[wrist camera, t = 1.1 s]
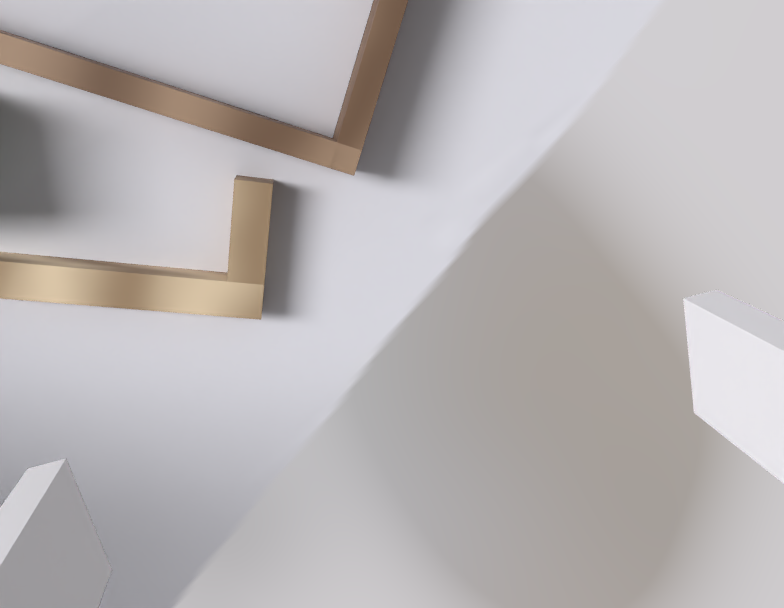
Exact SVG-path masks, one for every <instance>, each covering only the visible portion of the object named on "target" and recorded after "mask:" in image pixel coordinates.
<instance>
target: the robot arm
mask: <svg viewBox="0 0 784 608" xmlns="http://www.w3.org/2000/svg"><path fill="white" fill-rule="evenodd" d="M683 299H684V310H685V320H686V332H687V343H688V353H689V364H690V375H691V386H692V396H693V407H694V413H695V414H696V415H698V416H699V417H700V418H701V419H703V420H704V421H705V422H706V423H708V424H709V425H710V426H712V427H713V428H714V429H715V430H716V431H718V432H719V433H720V434H722V435H723V436H724V437H725V438H727V439H728V440H729V441H730V442H732V443H733V444H734V445H736V446H737V447H738V448H739V449H740V450H742V451H743V452H744V453H746V454H747V455H748V456H749V457H751V458H752V459H753V460H754V461H755V462H757V463H758V464H759V465H761V466H762V467H763V468H764V469H766V470H767V471H768V472H769V473H771V474H772V475H773V476H775V477H776V478H777V479H778V480H779V481H781V482H782V483H783V484H784V320H782V319H780V318H777V317H775V316H773V315H771V314H769V313H767V312H765V311H763V310H760V309H758V308H756V307H754V306H752V305H750V304H747V303H745V302H743V301H741V300H739V299H737V298H734V297H732V296H730V295H728V294H725V293H723V292H721V291H719V290H714V291H710V292H706V293H702V294H698V295H694V296H690V297H687V298H683ZM111 572H112V568H111V566H110V563H109V561H108V559H107V556H106V554H105V551H104V549H103V546H102V544H101V542H100V539H99V537H98V534H97V532H96V530H95V527H94V525H93V522H92V520H91V517H90V515H89V513H88V510H87V508H86V505H85V503H84V500H83V498H82V496H81V493H80V491H79V488H78V486H77V483H76V481H75V479H74V476H73V474H72V471H71V469H70V467H69V464H68V462H67V459H62V460H58V461H54V462H50V463H46V464H42V465H39V466H35V467H31V468H28V469H27V470H26V472H25V473H24V474H23V476H22V477H21V479H20V480H19V482H18V483H17V484H16V486H15V487H14V489H13V490H12V492H11V493H10V494H9V496H8V497H7V499H6V500H5V502H4V503H3V504H2V506H1V507H0V608H98V607H99V605H100V602H101V599H102V596H103V594H104V591H105V588H106V586H107V583H108V580H109V578H110V575H111Z"/></svg>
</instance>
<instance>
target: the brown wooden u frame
mask: <svg viewBox="0 0 784 608" xmlns="http://www.w3.org/2000/svg"><path fill="white" fill-rule="evenodd" d="M407 3H408V0H374V1H373V4H372V8H371V11H370V14H369V18H368V21H367V24H366V28H365V31H364V34H363V38H362V41H361V44H360V48H359V51H358V55H357V58H356V61H355V65H354V68H353V71H352V75H351V78H350V81H349V85H348V88H347V91H346V95H345V98H344V102H343V105H342V108H341V112H340V115H339V118H338V122H337V125H336V128H335V132H334V135H333V138H330V137H327V136H324V135H321V134H318V133H314V132H311V131H308V130H305V129H302V128H299V127H296V126H293V125H290V124H287V123H284V122H281V121H278V120H275V119H272V118H268V117H265V116H262V115H259V114H256V113H253V112H250V111H247V110H244V109H241V108H238V107H235V106H232V105H229V104H226V103H223V102H219V101H216V100H213V99H210V98H207V97H204V96H201V95H198V94H195V93H192V92H189V91H186V90H183V89H180V88H177V87H173V86H170V85H167V84H164V83H161V82H158V81H155V80H152V79H149V78H146V77H143V76H140V75H137V74H134V73H131V72H128V71H124V70H121V69H118V68H115V67H112V66H109V65H106V64H103V63H100V62H97V61H94V60H91V59H88V58H85V57H82V56H78V55H75V54H72V53H69V52H66V51H63V50H60V49H57V48H54V47H51V46H48V45H45V44H42V43H39V42H36V41H33V40H29V39H26V38H23V37H20V36H17V35H14V34H11V33H8V32H5V31H2V30H0V64H3V65H6V66H9V67H12V68H15V69H18V70H22V71H25V72H28V73H31V74H34V75H37V76H41V77H44V78H47V79H50V80H53V81H56V82H60V83H63V84H66V85H69V86H72V87H75V88H79V89H82V90H85V91H88V92H91V93H94V94H98V95H101V96H104V97H107V98H110V99H113V100H116V101H120V102H123V103H126V104H129V105H132V106H135V107H139V108H142V109H145V110H148V111H151V112H154V113H158V114H161V115H164V116H167V117H170V118H173V119H177V120H180V121H183V122H186V123H189V124H192V125H196V126H199V127H202V128H205V129H208V130H211V131H214V132H218V133H221V134H224V135H227V136H230V137H233V138H237V139H240V140H243V141H246V142H249V143H252V144H256V145H259V146H262V147H265V148H268V149H271V150H275V151H278V152H281V153H284V154H287V155H290V156H294V157H297V158H300V159H303V160H306V161H309V162H312V163H316V164H319V165H322V166H325V167H328V168H331V169H335V170H338V171H341V172H344V173H347V174H350V175H354V174H355V171H356V168H357V164H358V161H359V158H360V155H361V152H362V148H363V145H364V142H365V139H366V135H367V132H368V129H369V126H370V122H371V119H372V116H373V113H374V109H375V106H376V103H377V100H378V96H379V93H380V90H381V87H382V83H383V80H384V77H385V74H386V71H387V67H388V64H389V61H390V58H391V54H392V51H393V48H394V45H395V41H396V38H397V35H398V32H399V28H400V25H401V22H402V19H403V15H404V12H405V9H406V6H407Z"/></svg>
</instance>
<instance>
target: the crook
mask: <svg viewBox="0 0 784 608" xmlns="http://www.w3.org/2000/svg"><path fill="white" fill-rule="evenodd" d="M272 190H273V179H264V178H255V177H247V176H238V175H237V176H236V178H235V179H234V192H233V206H232V220H231V233H230V247H229V261H228V273H225V272H214V271H203V270H192V269H181V268H170V267H159V266H148V265H138V264H127V263H116V262H105V261H94V260H83V259H72V258H61V257H50V256H40V255H29V254H18V253H7V252H0V298H3V299H15V300H28V301H40V302H52V303H65V304H77V305H89V306H101V307H114V308H126V309H138V310H151V311H163V312H175V313H188V314H200V315H212V316H225V317H237V318H249V319H261V316H262V305H263V294H264V282H265V271H266V259H267V248H268V236H269V225H270V213H271V202H272Z"/></svg>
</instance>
